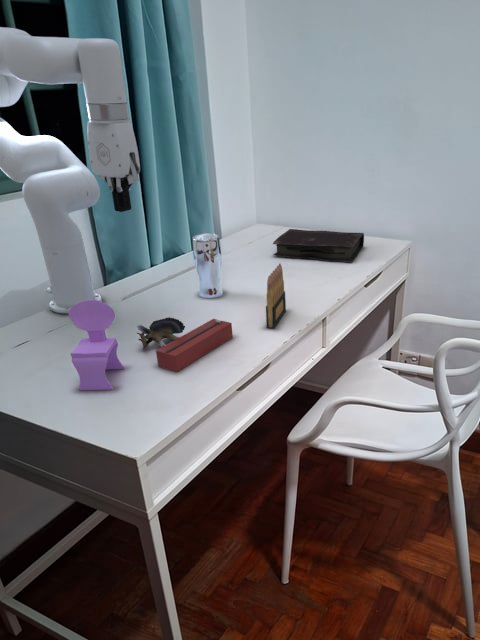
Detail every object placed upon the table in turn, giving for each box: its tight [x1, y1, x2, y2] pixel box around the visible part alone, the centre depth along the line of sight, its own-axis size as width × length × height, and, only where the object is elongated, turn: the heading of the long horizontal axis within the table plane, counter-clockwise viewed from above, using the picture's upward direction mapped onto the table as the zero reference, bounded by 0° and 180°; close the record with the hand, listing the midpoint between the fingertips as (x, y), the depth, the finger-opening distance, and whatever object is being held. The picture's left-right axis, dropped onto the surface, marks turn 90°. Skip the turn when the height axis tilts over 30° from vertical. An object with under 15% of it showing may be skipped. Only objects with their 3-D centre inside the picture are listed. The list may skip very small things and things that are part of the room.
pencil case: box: [155, 318, 234, 373], centre depth 111 cm, size 5×18×4 cm, turn 149°
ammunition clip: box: [265, 262, 287, 330], centre depth 123 cm, size 11×2×12 cm, turn 166°
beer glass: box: [191, 232, 224, 299], centre depth 137 cm, size 7×7×15 cm
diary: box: [272, 228, 365, 263], centre depth 170 cm, size 19×25×5 cm
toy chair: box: [68, 299, 126, 391], centre depth 99 cm, size 8×9×15 cm
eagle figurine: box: [136, 317, 186, 351], centre depth 113 cm, size 8×7×9 cm
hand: (123, 210), depth 114 cm, fingers closed
